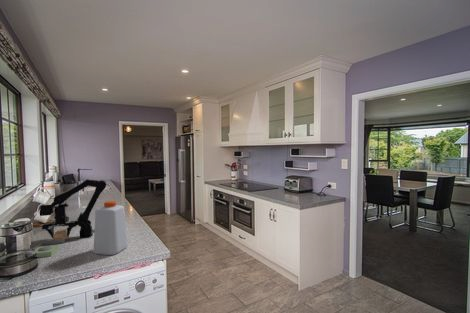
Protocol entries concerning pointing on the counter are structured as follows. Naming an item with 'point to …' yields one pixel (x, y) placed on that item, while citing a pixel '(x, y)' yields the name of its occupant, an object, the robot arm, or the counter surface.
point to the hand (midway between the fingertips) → (60, 238)
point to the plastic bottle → (110, 229)
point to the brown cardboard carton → (60, 234)
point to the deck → (48, 247)
